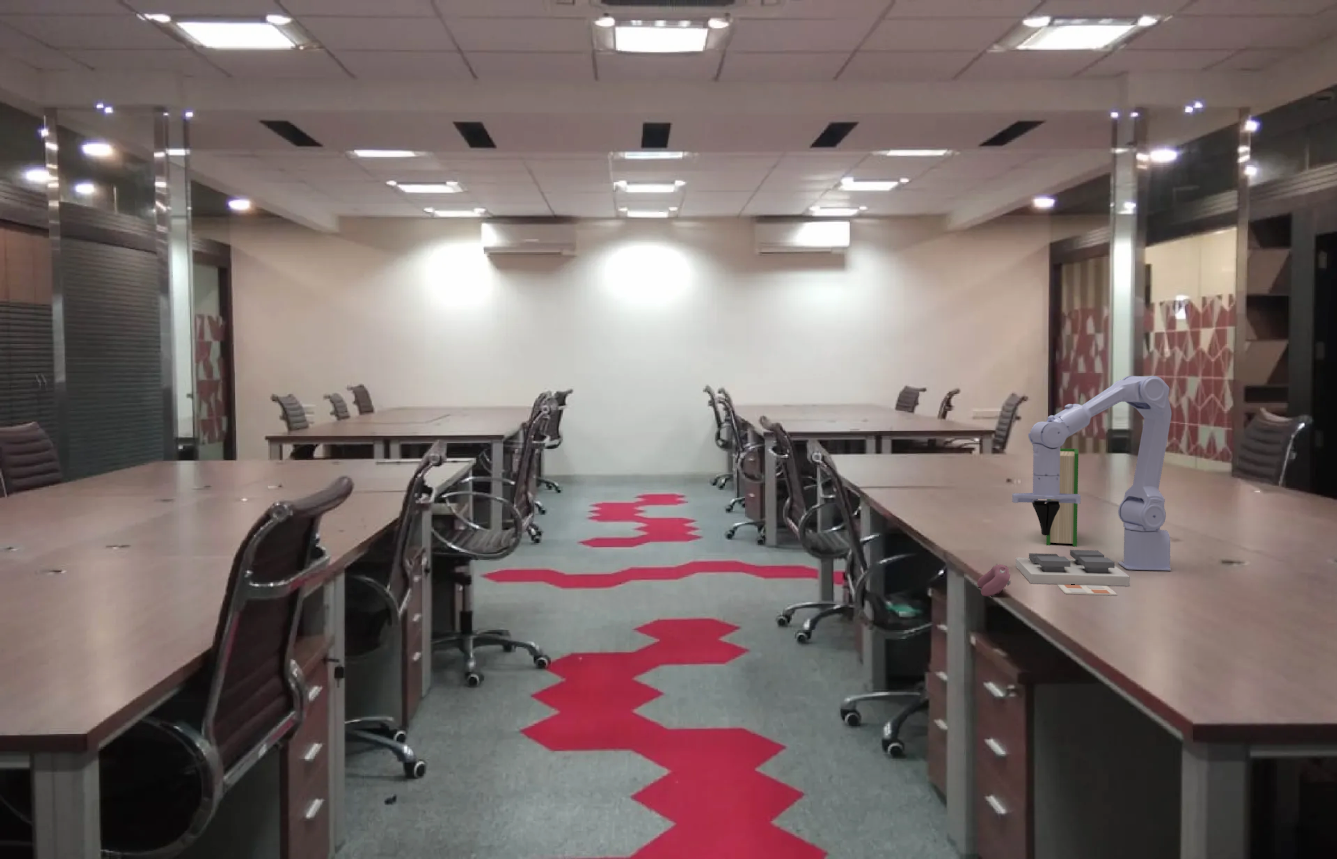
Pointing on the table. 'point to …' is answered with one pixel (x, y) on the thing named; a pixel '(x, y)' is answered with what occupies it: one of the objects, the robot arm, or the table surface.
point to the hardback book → (1067, 513)
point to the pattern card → (1086, 589)
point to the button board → (1071, 575)
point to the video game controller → (994, 580)
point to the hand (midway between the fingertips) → (1045, 534)
